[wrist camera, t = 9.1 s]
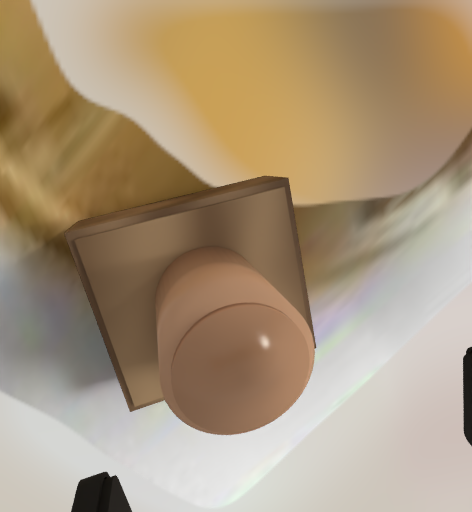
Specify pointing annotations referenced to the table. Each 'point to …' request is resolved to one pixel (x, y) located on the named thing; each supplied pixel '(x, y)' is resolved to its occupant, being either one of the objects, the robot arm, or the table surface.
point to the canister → (228, 343)
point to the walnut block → (169, 249)
